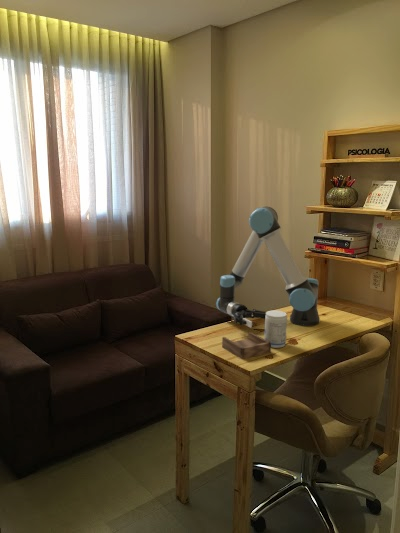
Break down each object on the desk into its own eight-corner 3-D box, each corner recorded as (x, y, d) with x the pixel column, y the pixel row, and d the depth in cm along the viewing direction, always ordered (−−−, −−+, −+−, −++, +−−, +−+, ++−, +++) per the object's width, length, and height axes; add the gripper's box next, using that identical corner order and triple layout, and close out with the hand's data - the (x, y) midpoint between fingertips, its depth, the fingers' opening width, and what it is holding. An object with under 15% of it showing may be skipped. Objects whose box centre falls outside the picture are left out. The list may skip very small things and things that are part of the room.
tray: (249, 341, 207) (250, 332, 206) (270, 352, 194) (271, 342, 193) (222, 347, 200) (222, 337, 199) (241, 359, 187) (242, 348, 186)
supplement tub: (263, 340, 209) (265, 309, 206) (284, 341, 208) (286, 310, 205) (264, 348, 199) (265, 316, 196) (286, 349, 198) (288, 317, 195)
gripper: (257, 314, 234) (284, 326, 216) (216, 321, 222) (240, 334, 203) (258, 300, 232) (285, 311, 214) (216, 306, 220) (241, 318, 202)
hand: (263, 322), depth 209 cm, fingers open, 13 cm apart
